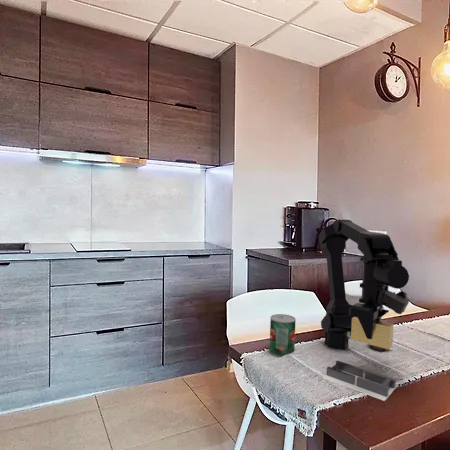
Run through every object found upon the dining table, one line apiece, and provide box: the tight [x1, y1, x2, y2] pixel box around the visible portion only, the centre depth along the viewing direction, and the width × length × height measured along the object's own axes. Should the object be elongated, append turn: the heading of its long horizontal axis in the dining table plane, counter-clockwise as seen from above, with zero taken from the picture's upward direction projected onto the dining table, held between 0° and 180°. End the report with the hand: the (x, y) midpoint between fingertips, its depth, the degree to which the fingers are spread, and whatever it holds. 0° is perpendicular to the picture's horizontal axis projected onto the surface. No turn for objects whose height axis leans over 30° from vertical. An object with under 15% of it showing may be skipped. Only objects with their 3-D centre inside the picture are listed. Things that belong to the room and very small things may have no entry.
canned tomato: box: [268, 313, 297, 358], centre depth 113 cm, size 8×8×11 cm
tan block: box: [350, 317, 394, 350], centre depth 97 cm, size 10×3×6 cm, turn 50°
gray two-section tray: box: [325, 360, 397, 397], centre depth 94 cm, size 16×6×2 cm, turn 48°
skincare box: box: [345, 290, 364, 339], centre depth 130 cm, size 8×7×16 cm
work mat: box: [321, 371, 400, 402], centre depth 94 cm, size 16×11×1 cm
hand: (371, 337), depth 97 cm, fingers closed on tan block, 3 cm apart
